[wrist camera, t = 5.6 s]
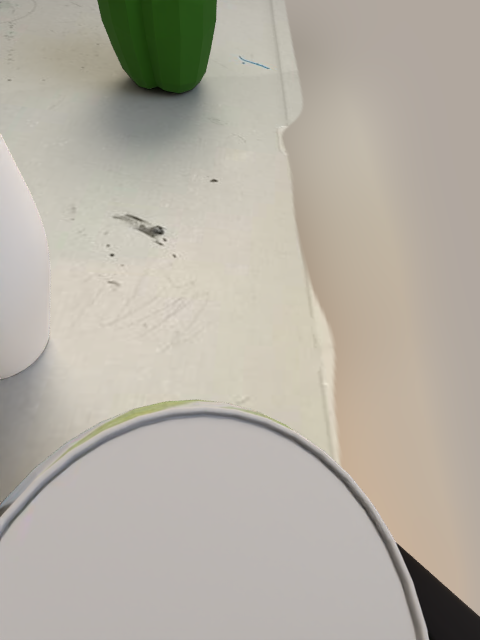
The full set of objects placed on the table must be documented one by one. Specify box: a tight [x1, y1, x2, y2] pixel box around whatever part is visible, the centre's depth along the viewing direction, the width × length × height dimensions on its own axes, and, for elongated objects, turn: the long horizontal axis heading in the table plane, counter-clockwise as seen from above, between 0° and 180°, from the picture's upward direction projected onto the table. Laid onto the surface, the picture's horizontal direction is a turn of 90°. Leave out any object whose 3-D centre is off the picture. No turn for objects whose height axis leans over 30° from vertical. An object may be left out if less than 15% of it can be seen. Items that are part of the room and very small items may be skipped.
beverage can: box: [0, 400, 429, 640], centre depth 8 cm, size 6×7×12 cm
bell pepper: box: [97, 0, 217, 93], centre depth 26 cm, size 8×8×10 cm
